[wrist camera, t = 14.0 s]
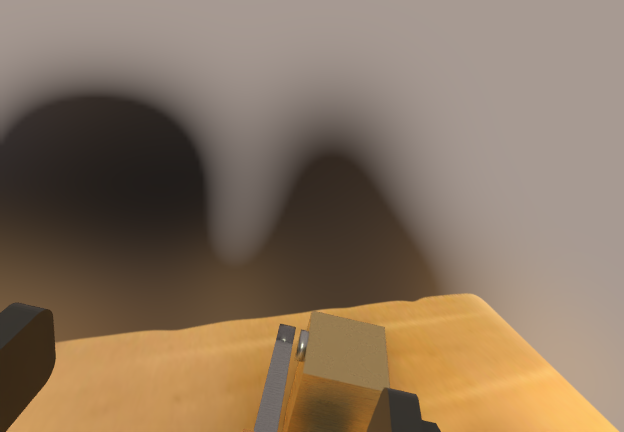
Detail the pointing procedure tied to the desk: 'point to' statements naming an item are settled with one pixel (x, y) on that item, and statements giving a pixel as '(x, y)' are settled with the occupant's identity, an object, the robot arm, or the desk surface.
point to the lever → (275, 382)
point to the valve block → (337, 375)
